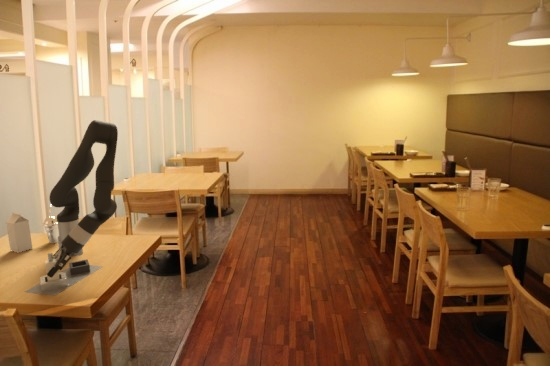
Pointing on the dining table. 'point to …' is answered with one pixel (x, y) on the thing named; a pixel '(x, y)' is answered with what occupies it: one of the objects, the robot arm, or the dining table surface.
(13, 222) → the milk carton
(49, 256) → the plug
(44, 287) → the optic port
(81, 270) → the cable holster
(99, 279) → the dining table surface
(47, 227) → the cup with straw
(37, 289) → the port board
